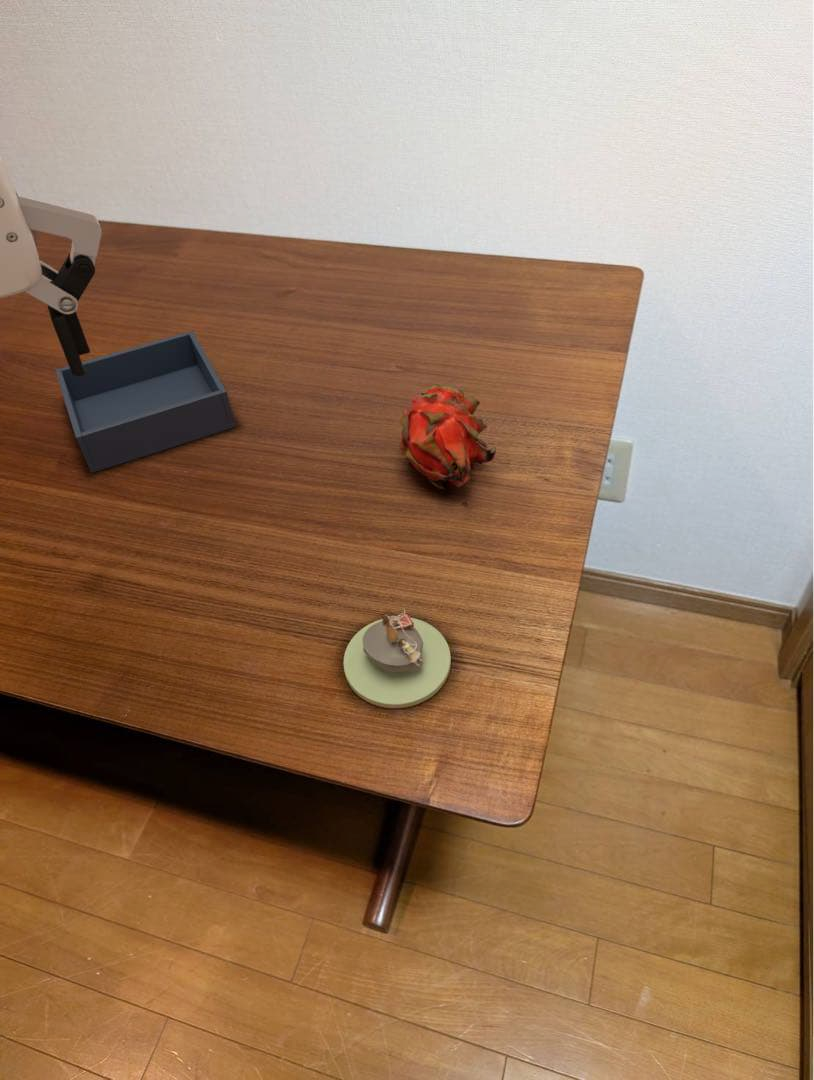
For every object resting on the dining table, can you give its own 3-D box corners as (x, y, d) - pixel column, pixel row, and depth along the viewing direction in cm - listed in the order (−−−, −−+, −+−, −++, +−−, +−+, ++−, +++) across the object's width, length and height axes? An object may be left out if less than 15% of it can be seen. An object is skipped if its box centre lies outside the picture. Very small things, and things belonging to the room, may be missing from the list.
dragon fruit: (438, 435, 87) (463, 524, 80) (370, 411, 83) (391, 504, 76) (488, 379, 82) (520, 470, 75) (419, 350, 77) (446, 444, 70)
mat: (369, 725, 62) (369, 721, 61) (328, 644, 67) (327, 640, 67) (469, 681, 64) (469, 677, 63) (421, 606, 69) (421, 602, 69)
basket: (91, 473, 84) (75, 437, 80) (69, 404, 92) (54, 369, 89) (235, 427, 88) (226, 391, 84) (202, 365, 96) (192, 330, 93)
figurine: (352, 659, 65) (344, 610, 61) (389, 624, 67) (384, 574, 63) (404, 694, 63) (399, 646, 58) (440, 656, 65) (438, 607, 61)
